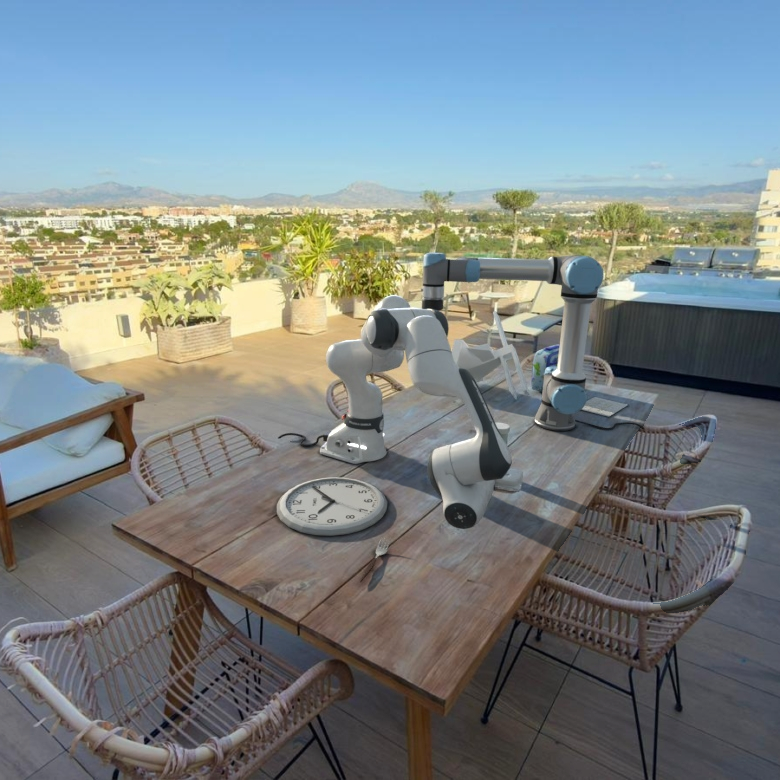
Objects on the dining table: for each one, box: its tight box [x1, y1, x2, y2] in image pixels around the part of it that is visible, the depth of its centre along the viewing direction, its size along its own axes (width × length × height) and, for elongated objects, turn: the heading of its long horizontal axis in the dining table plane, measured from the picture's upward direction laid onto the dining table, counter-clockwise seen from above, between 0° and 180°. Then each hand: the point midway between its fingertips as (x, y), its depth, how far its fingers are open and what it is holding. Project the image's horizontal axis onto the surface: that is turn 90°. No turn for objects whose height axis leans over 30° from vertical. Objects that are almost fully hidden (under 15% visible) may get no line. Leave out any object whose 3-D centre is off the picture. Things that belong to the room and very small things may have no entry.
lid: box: [495, 422, 511, 434], centre depth 157 cm, size 6×6×2 cm
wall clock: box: [276, 476, 388, 537], centre depth 142 cm, size 30×2×30 cm
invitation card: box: [580, 396, 629, 418], centre depth 226 cm, size 21×1×15 cm
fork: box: [359, 536, 392, 583], centre depth 118 cm, size 3×16×2 cm, turn 160°
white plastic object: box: [451, 310, 531, 400], centre depth 245 cm, size 37×45×31 cm
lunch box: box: [530, 344, 560, 393], centre depth 247 cm, size 26×11×21 cm, turn 134°
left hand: (486, 462), depth 138 cm, fingers open, 8 cm apart
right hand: (430, 357), depth 190 cm, fingers open, 13 cm apart
